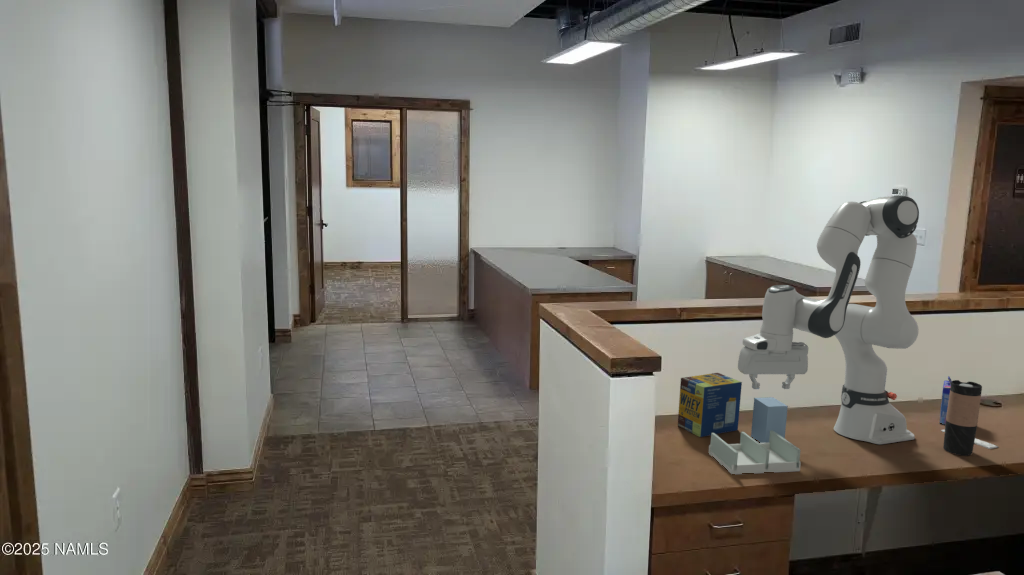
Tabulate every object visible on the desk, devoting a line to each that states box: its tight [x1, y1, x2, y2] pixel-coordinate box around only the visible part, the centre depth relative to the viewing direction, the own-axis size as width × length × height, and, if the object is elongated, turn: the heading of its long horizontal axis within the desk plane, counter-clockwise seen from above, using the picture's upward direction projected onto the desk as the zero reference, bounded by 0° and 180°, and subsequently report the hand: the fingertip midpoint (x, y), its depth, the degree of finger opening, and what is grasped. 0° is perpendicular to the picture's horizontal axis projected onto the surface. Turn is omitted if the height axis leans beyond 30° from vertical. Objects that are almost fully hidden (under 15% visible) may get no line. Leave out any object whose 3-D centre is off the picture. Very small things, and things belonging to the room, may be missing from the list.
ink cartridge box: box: [939, 375, 953, 425], centre depth 230 cm, size 10×6×14 cm, turn 148°
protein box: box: [677, 372, 743, 438], centre depth 218 cm, size 10×15×16 cm
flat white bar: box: [940, 429, 999, 450], centre depth 216 cm, size 5×15×1 cm, turn 23°
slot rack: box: [708, 430, 802, 475], centre depth 194 cm, size 19×14×6 cm
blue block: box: [750, 396, 789, 443], centre depth 209 cm, size 6×8×12 cm
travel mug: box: [943, 379, 983, 457], centre depth 205 cm, size 8×8×20 cm
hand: (770, 388), depth 207 cm, fingers open, 8 cm apart
